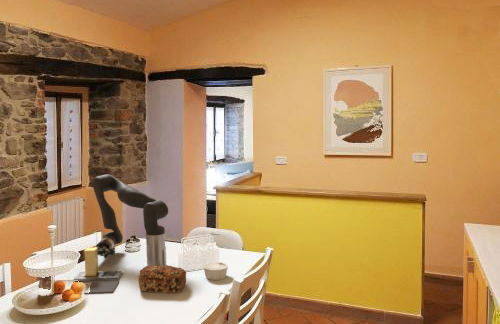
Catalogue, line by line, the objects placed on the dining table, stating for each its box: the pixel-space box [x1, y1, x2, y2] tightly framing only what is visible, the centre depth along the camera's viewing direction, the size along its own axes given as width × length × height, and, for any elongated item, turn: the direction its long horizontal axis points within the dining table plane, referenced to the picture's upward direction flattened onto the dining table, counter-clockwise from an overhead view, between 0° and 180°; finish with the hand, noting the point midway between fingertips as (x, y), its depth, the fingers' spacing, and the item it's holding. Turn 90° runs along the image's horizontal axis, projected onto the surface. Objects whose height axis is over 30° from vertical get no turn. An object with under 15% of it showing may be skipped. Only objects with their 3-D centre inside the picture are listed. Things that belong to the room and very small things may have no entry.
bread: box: [138, 265, 187, 294], centre depth 189 cm, size 19×11×10 cm, turn 82°
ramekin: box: [203, 261, 229, 281], centre depth 203 cm, size 11×11×5 cm
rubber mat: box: [88, 280, 120, 295], centre depth 191 cm, size 12×12×1 cm
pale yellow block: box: [83, 246, 99, 277], centre depth 202 cm, size 5×5×14 cm
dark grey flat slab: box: [73, 270, 124, 283], centre depth 203 cm, size 20×9×2 cm, turn 94°
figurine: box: [37, 275, 56, 290], centre depth 185 cm, size 7×7×12 cm
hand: (96, 256), depth 210 cm, fingers open, 8 cm apart
